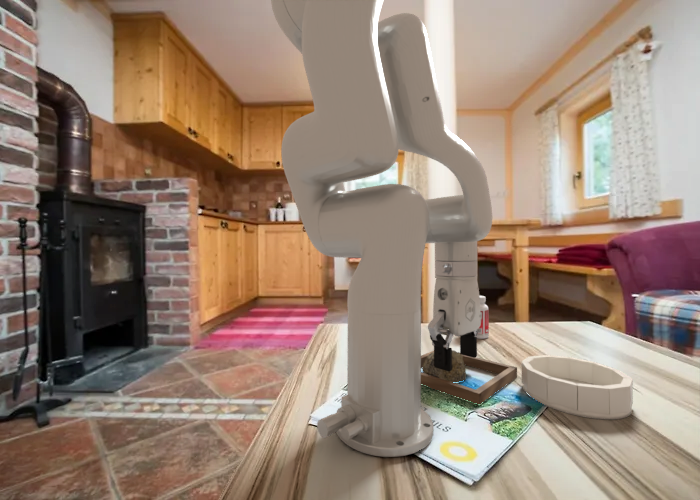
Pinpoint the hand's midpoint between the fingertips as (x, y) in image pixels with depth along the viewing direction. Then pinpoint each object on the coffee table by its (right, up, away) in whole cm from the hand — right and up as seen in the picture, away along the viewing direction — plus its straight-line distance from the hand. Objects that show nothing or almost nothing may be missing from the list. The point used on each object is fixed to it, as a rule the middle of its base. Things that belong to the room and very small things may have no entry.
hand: (456, 362), depth 59 cm
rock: (-2, -3, +1) cm, 4 cm away
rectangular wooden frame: (0, -3, 0) cm, 3 cm away
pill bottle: (+15, -3, +28) cm, 32 cm away
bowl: (+16, -3, -8) cm, 18 cm away
